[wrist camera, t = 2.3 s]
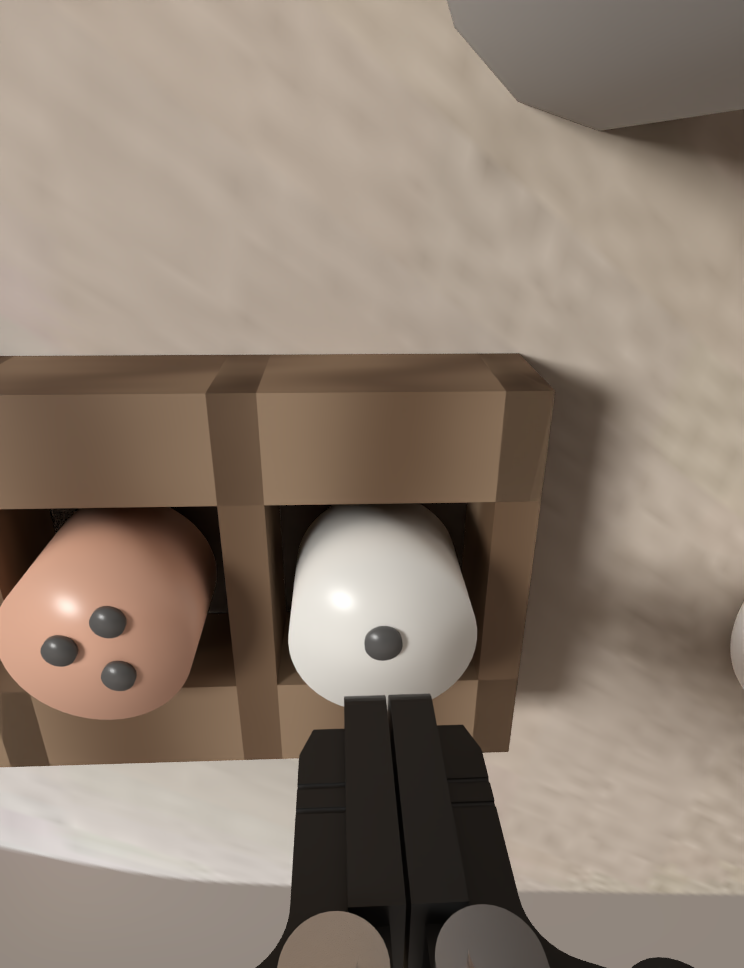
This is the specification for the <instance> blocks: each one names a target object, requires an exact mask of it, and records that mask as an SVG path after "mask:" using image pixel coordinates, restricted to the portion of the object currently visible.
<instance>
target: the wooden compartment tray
mask: <svg viewBox="0 0 744 968" xmlns="http://www.w3.org/2000/svg"><path fill="white" fill-rule="evenodd" d="M554 396H555V390H554V389H553V388H552V387H551V386H550V385H549V384H548V383H547V382H546V381H545V380H544V379H543V378H542V377H541V376H540V375H539V374H538V373H537V372H536V371H535V370H534V369H533V367H532V366H531V365H530V364H529V363H528V362H527V361H526V360H525V359H524V358H523V357H522V356H521V355H520V354H334V355H141V356H0V607H1V605H2V603H3V601H4V600H5V598H6V597H7V596H8V595H9V593H10V592H11V591H12V589H13V588H14V587H15V586H16V584H17V583H18V582H19V581H20V579H21V578H22V577H23V575H24V574H25V573H26V572H27V570H28V569H29V568H30V566H31V565H32V564H33V563H34V561H35V560H36V559H37V557H38V556H39V555H40V554H41V552H42V551H43V550H44V548H45V547H46V546H47V545H48V543H49V542H50V541H51V540H52V538H53V537H54V536H55V531H54V527H53V522H52V518H51V514H50V508H119V507H188V506H217V509H218V518H219V528H220V537H221V546H222V556H223V565H224V574H225V584H226V593H227V603H228V612H229V613H212V614H207V616H206V620H205V623H204V626H203V630H202V633H201V636H200V640H199V643H198V646H197V650H196V653H195V656H194V660H193V663H192V666H191V670H190V673H189V676H188V678H187V680H186V682H185V683H184V685H183V686H182V688H181V689H180V691H179V692H178V693H177V694H176V695H175V696H174V697H173V698H172V699H170V700H169V701H168V702H166V703H165V704H164V705H162V706H160V707H159V708H157V709H155V710H153V711H150V712H148V713H146V714H142V715H139V716H136V717H131V718H125V719H116V720H98V719H89V718H83V717H79V716H74V715H71V714H68V713H64V712H61V711H59V710H57V709H54V708H52V707H50V706H48V705H46V704H44V703H42V702H40V701H39V700H37V699H36V698H34V697H33V696H31V695H30V694H29V693H27V692H26V691H25V690H24V689H23V688H21V687H20V686H19V685H18V683H17V682H16V681H15V680H14V679H13V678H12V677H11V676H10V674H9V673H8V671H7V670H6V669H5V667H4V665H3V663H2V661H1V659H0V767H24V766H57V765H90V764H123V763H156V762H189V761H222V760H255V759H288V758H299V755H300V753H301V751H302V749H303V747H304V746H305V744H306V742H307V740H308V738H309V736H310V735H311V733H312V731H313V730H316V729H344V707H343V706H340V705H337V704H335V703H333V702H331V701H329V700H327V699H325V698H324V697H322V696H321V695H319V694H318V693H316V692H315V691H314V690H313V689H311V688H310V687H309V686H308V685H307V684H306V683H305V681H304V680H303V679H302V678H301V676H300V675H299V673H298V672H297V670H296V668H295V666H294V664H293V662H292V659H291V655H290V651H289V644H288V637H289V625H290V616H291V612H286V599H285V583H284V567H283V550H282V534H281V517H280V505H325V504H393V503H462V502H467V507H466V520H465V533H464V547H463V560H462V576H463V579H464V582H465V586H466V589H467V592H468V596H469V599H470V602H471V606H472V609H473V612H474V616H475V619H476V625H477V642H476V647H475V651H474V654H473V657H472V659H471V661H470V663H469V665H468V667H467V669H466V670H465V671H464V673H463V674H462V676H461V677H460V678H459V679H458V680H457V681H456V682H455V683H454V684H453V685H452V686H451V687H450V688H449V689H447V690H446V691H445V692H443V693H442V694H440V695H439V696H437V697H436V698H434V699H432V701H433V707H434V712H435V718H436V723H437V725H464V727H465V728H466V729H467V731H468V732H469V733H470V735H471V736H472V737H473V738H474V740H475V741H476V742H477V744H478V745H479V746H480V748H481V750H482V753H485V752H508V751H509V743H510V735H511V728H512V720H513V712H514V705H515V697H516V689H517V681H518V674H519V666H520V658H521V651H522V643H523V635H524V628H525V620H526V612H527V604H528V597H529V589H530V581H531V574H532V566H533V558H534V551H535V543H536V535H537V527H538V520H539V512H540V504H541V497H542V489H543V481H544V474H545V466H546V458H547V450H548V443H549V435H550V427H551V420H552V412H553V404H554Z"/></svg>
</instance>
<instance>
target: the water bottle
mask: <svg viewBox="0 0 744 968" xmlns="http://www.w3.org/2000/svg"><path fill="white" fill-rule="evenodd" d="M730 653H731V660H732V665H733V669H734V672H735V674H736V677H737V679H738V681H739V683H740V685H741V686H742V688H743V690H744V602H743V604H742V606H741V608H740V610H739V612H738V614H737V617H736V620H735V623H734V626H733V630H732V635H731V645H730Z"/></svg>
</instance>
